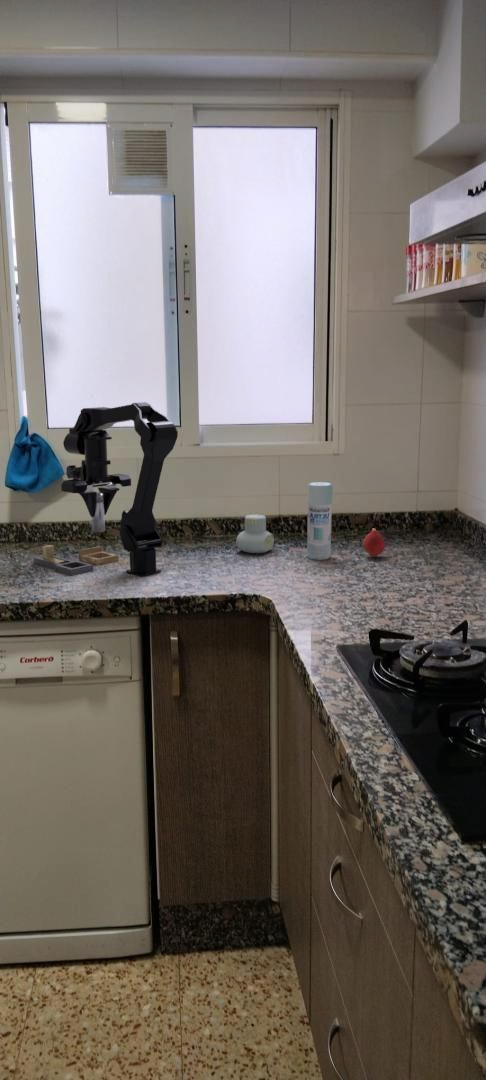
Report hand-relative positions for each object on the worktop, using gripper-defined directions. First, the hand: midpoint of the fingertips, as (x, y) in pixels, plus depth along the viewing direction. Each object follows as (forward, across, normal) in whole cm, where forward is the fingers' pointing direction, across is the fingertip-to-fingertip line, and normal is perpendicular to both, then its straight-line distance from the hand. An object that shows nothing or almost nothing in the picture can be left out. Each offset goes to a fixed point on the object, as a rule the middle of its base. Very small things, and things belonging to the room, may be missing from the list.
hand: (98, 515), depth 230 cm
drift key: (+12, +11, -5) cm, 17 cm away
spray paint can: (+12, -44, +39) cm, 60 cm away
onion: (+13, -54, +50) cm, 75 cm away
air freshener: (+12, -37, +22) cm, 45 cm away
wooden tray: (+12, 0, 0) cm, 12 cm away
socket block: (+12, +11, -2) cm, 16 cm away
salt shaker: (+4, 0, 0) cm, 4 cm away
